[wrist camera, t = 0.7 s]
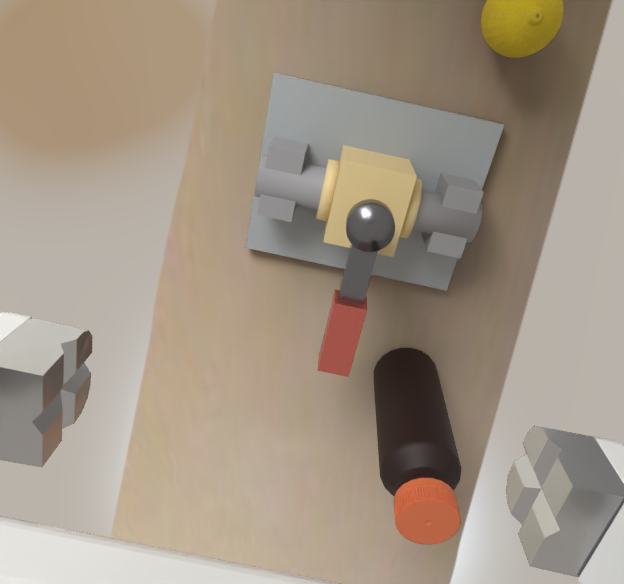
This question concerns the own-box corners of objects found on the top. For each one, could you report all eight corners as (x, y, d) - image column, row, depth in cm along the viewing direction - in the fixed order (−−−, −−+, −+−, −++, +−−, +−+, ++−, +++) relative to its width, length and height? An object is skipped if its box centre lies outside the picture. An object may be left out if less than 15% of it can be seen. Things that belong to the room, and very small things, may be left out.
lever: (313, 353, 48) (311, 369, 45) (352, 193, 41) (352, 202, 39) (354, 361, 48) (354, 377, 45) (398, 203, 41) (401, 213, 39)
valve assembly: (247, 243, 54) (227, 286, 45) (275, 72, 47) (257, 83, 38) (444, 285, 55) (463, 335, 46) (500, 123, 48) (535, 145, 39)
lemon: (547, 40, 45) (585, 43, 38) (479, 64, 46) (503, 72, 39) (536, -33, 43) (573, -46, 35) (465, -6, 44) (487, -13, 36)
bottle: (378, 401, 61) (389, 557, 43) (368, 350, 59) (377, 494, 41) (439, 394, 60) (477, 550, 42) (433, 342, 58) (470, 484, 40)
